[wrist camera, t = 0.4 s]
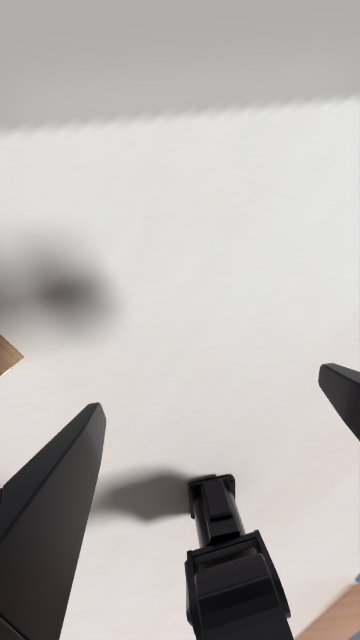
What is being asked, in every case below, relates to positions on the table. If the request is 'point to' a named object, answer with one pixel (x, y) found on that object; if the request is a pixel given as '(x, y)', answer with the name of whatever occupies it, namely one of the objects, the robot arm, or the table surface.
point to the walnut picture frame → (8, 356)
